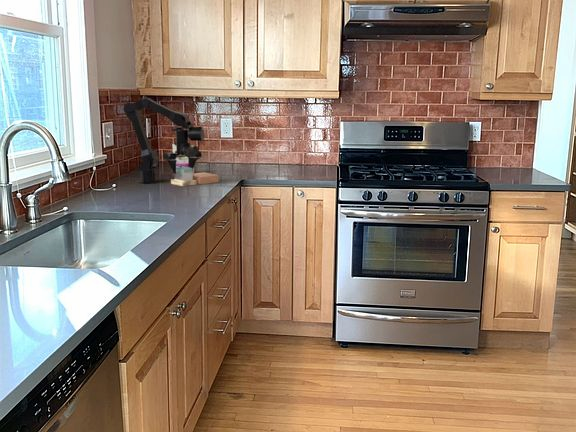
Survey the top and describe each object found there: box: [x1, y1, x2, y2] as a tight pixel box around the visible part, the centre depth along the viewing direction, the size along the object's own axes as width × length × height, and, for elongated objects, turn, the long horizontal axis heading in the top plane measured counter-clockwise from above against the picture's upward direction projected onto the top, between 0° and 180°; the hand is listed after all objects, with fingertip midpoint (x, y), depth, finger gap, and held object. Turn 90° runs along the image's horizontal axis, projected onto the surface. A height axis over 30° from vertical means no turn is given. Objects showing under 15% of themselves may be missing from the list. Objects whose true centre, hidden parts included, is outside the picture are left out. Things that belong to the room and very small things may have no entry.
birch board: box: [170, 178, 198, 187], centre depth 275 cm, size 8×10×2 cm
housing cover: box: [176, 165, 192, 173], centre depth 274 cm, size 5×8×3 cm, turn 44°
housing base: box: [174, 172, 193, 181], centre depth 274 cm, size 5×8×4 cm, turn 44°
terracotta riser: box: [193, 171, 219, 185], centre depth 282 cm, size 11×12×4 cm
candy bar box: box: [171, 143, 196, 176], centre depth 303 cm, size 11×5×16 cm, turn 61°
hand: (183, 172), depth 274 cm, fingers open, 9 cm apart
